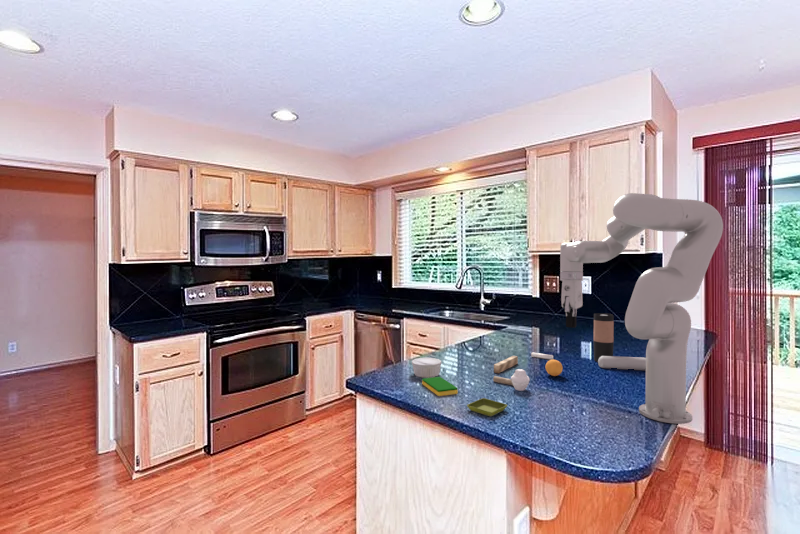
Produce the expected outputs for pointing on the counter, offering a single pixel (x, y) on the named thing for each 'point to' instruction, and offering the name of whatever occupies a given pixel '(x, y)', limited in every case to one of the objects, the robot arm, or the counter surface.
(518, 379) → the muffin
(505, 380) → the birch pin
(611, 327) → the travel mug
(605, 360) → the tube
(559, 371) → the ball
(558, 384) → the counter surface
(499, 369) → the rail
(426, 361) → the ramekin
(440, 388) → the dish sponge
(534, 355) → the white pin
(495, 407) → the olive square dish
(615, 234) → the robot arm
